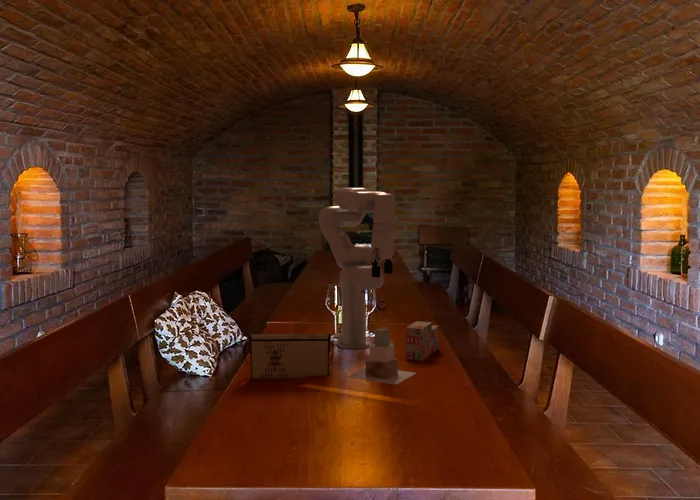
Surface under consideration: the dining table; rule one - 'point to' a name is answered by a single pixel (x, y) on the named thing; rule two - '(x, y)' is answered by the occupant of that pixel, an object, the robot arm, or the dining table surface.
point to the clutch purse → (289, 355)
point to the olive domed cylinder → (382, 337)
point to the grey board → (393, 380)
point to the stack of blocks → (421, 340)
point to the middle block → (381, 353)
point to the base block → (381, 369)
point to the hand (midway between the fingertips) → (382, 275)
